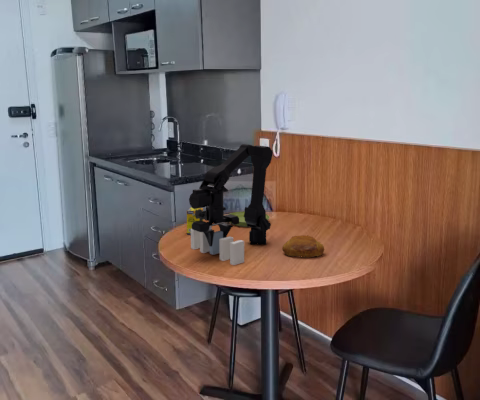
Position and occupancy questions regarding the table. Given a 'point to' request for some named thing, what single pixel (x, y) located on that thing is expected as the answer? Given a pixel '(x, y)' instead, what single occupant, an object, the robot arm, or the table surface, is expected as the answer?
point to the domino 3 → (216, 242)
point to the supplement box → (191, 219)
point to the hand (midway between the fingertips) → (216, 244)
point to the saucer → (243, 218)
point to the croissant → (303, 246)
